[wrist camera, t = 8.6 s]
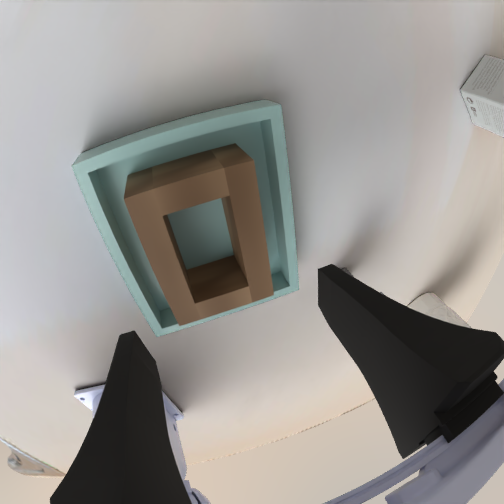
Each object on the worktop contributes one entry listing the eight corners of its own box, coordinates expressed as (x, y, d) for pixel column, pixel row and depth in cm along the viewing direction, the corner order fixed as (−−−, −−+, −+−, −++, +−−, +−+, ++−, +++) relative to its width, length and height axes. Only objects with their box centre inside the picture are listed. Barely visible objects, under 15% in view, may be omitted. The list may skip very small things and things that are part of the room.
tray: (286, 270, 21) (299, 289, 20) (154, 314, 20) (156, 337, 18) (265, 99, 14) (280, 104, 13) (80, 153, 13) (71, 165, 11)
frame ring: (235, 143, 15) (253, 160, 12) (257, 264, 20) (274, 295, 17) (127, 175, 14) (123, 199, 11) (173, 291, 19) (179, 326, 16)
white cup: (446, 288, 32) (496, 340, 25) (414, 333, 36) (455, 386, 28) (415, 286, 29) (473, 351, 21) (379, 339, 33) (424, 403, 25)
